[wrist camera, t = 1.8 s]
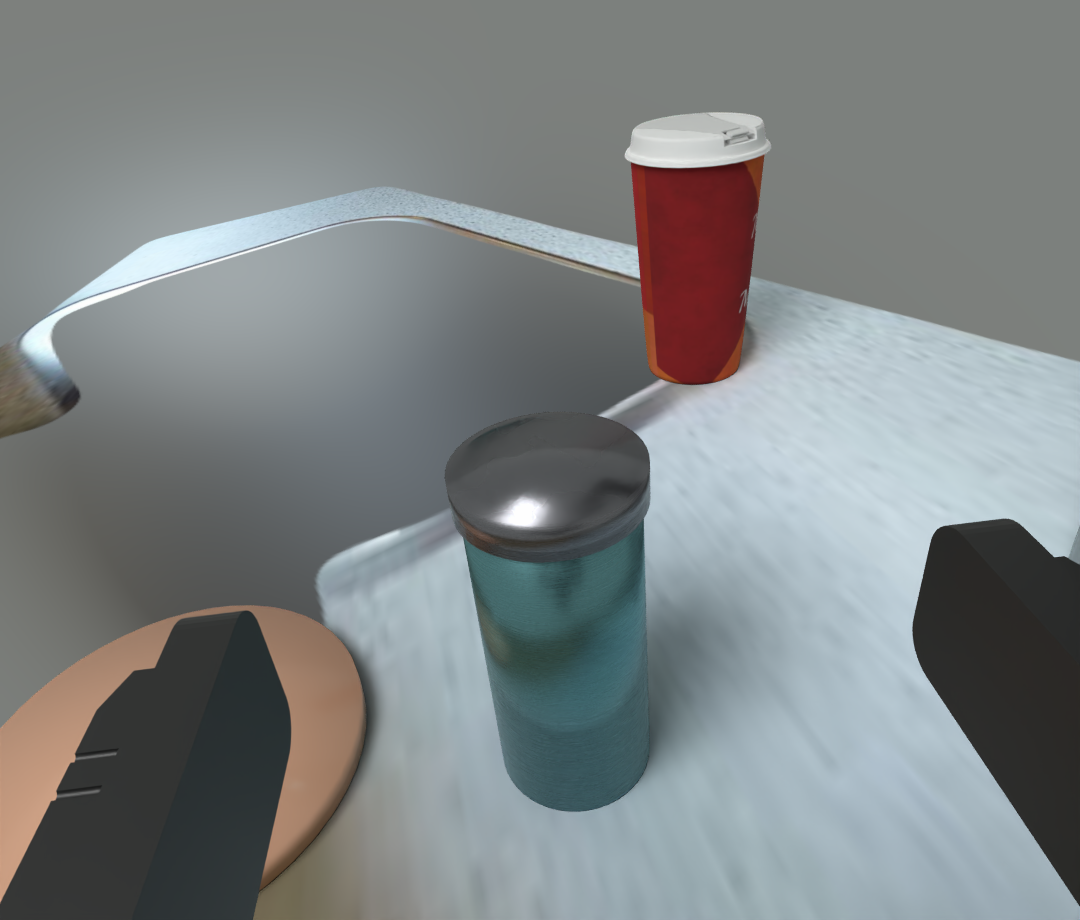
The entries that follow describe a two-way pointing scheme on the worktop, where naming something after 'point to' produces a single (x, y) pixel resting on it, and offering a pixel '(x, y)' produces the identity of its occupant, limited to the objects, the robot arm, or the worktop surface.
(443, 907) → the worktop surface
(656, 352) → the coffee cup
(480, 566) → the canister
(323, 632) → the dish
